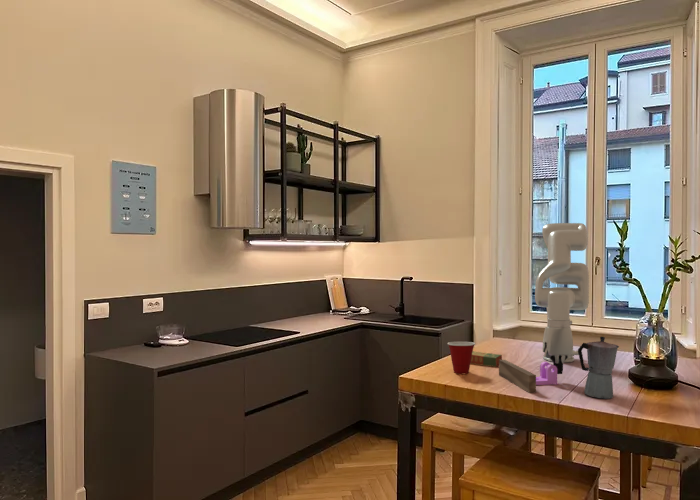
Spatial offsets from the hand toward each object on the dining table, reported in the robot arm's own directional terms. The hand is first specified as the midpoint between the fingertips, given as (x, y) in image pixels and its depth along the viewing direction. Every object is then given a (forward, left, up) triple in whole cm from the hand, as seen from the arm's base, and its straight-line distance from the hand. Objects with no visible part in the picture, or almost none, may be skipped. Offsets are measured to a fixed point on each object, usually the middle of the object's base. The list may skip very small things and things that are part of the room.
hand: (558, 373), depth 199 cm
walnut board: (+17, 0, -3) cm, 17 cm away
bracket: (+9, 0, -3) cm, 9 cm away
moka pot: (-3, +19, -3) cm, 20 cm away
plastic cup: (+31, -19, -3) cm, 36 cm away
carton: (+16, -33, -4) cm, 37 cm away
